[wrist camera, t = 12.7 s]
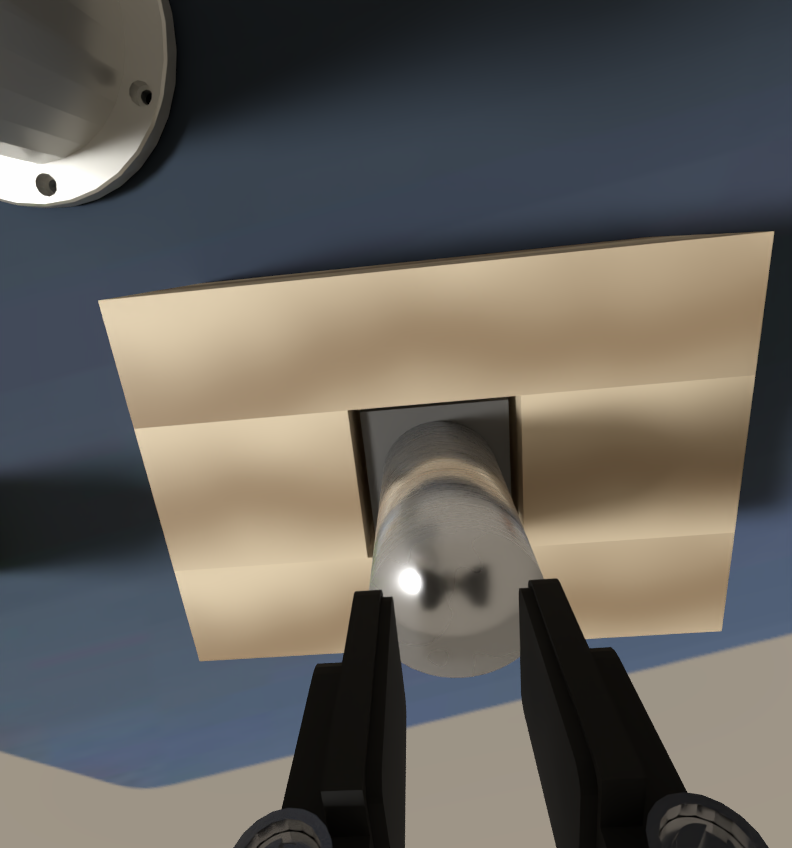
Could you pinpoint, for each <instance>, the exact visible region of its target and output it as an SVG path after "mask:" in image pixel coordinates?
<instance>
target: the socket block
mask: <svg viewBox="0 0 792 848" xmlns="http://www.w3.org/2000/svg"><path fill="white" fill-rule="evenodd" d="M773 237H774V231H769V232H747V233H725V234H704V235H682V236H660V237H645V238H635V239H626V240H616V241H606V242H597V243H587V244H577V245H568V246H558V247H548V248H539V249H529V250H519V251H510V252H500V253H490V254H481V255H471V256H461V257H452V258H442V259H432V260H423V261H413V262H403V263H394V264H384V265H374V266H365V267H355V268H345V269H336V270H326V271H316V272H307V273H297V274H287V275H278V276H268V277H258V278H249V279H239V280H229V281H220V282H210V283H200V284H194V285H188V286H183V287H177V288H171V289H165V290H159V291H153V292H147V293H141V294H135V295H129V296H123V297H117V298H111V299H105V300H99V301H98V302H99V306H100V309H101V313H102V316H103V320H104V323H105V327H106V330H107V334H108V337H109V341H110V345H111V348H112V352H113V355H114V359H115V362H116V366H117V369H118V373H119V377H120V380H121V384H122V387H123V391H124V394H125V398H126V401H127V405H128V408H129V412H130V416H131V419H132V423H133V426H134V430H135V433H136V437H137V440H138V444H139V447H140V451H141V455H142V458H143V462H144V465H145V469H146V472H147V476H148V479H149V483H150V486H151V490H152V494H153V497H154V501H155V504H156V508H157V511H158V515H159V518H160V522H161V525H162V529H163V533H164V536H165V540H166V543H167V547H168V550H169V554H170V557H171V561H172V564H173V568H174V572H175V575H176V579H177V582H178V586H179V589H180V593H181V596H182V600H183V604H184V607H185V611H186V614H187V618H188V621H189V625H190V628H191V632H192V635H193V639H194V643H195V646H196V650H197V653H198V657H199V660H200V661H210V660H228V659H245V658H262V657H280V656H297V655H314V654H332V653H344V649H345V643H346V637H347V631H348V625H349V619H350V613H351V607H352V601H353V596H354V592H355V591H367V590H369V584H370V576H371V568H372V560H373V551H374V543H375V528H374V520H373V513H372V505H371V497H370V489H369V482H368V474H367V466H366V458H365V450H364V443H363V435H362V427H361V419H360V410H361V409H370V408H381V407H393V406H404V405H416V404H428V403H439V402H451V401H462V400H474V399H485V398H497V397H507V398H508V405H509V439H510V473H511V498H512V501H513V503H514V506H515V508H516V510H517V513H518V515H519V518H520V520H521V523H522V525H523V528H524V530H525V533H526V535H527V538H528V540H529V543H530V545H531V548H532V550H533V553H534V555H535V558H536V560H537V563H538V565H539V568H540V570H541V573H542V575H543V578H544V579H552V578H557V579H558V580H559V581H560V583H561V586H562V588H563V590H564V592H565V595H566V597H567V599H568V601H569V604H570V606H571V608H572V610H573V613H574V615H575V617H576V620H577V622H578V624H579V626H580V629H581V631H582V633H583V635H584V638H585V639H592V638H609V637H627V636H644V635H661V634H679V633H696V632H713V631H722V623H723V616H724V608H725V601H726V593H727V586H728V578H729V570H730V563H731V555H732V548H733V540H734V533H735V525H736V517H737V510H738V502H739V495H740V487H741V480H742V472H743V464H744V457H745V449H746V442H747V434H748V427H749V419H750V411H751V404H752V396H753V389H754V381H755V374H756V366H757V358H758V351H759V343H760V336H761V328H762V321H763V313H764V305H765V298H766V290H767V283H768V275H769V267H770V260H771V252H772V245H773Z"/></svg>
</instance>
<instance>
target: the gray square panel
mask: <svg viewBox="0 0 792 848" xmlns="http://www.w3.org/2000/svg"><path fill="white" fill-rule="evenodd" d="M360 419H361V427H362V435H363V443H364V450H365V458H366V466H367V474H368V482H369V489H370V497H371V505H372V513H373V520H374V528H375V535H376V527H377V518H378V510H379V502H380V494H381V486H382V477H383V469H384V463H385V459H386V456H387V454H388V452H389V450H390V448H391V446H392V445H393V444H394V442H395V441H396V440H397V439H398V438H399V437H400V436H401V435H402V434H404V433H405V432H406V431H408V430H409V429H411V428H413V427H415V426H417V425H420V424H423V423H426V422H432V421H451V422H456V423H460V424H462V425H465V426H467V427H469V428H471V429H473V430H474V431H476V432H477V433H478V434H480V435H481V436H482V437H483V438H484V439H485V440H486V442H487V443H488V444H489V446H490V448H491V449H492V451H493V454H494V456H495V458H496V461H497V463H498V466H499V468H500V471H501V473H502V476H503V478H504V481H505V483H506V486H507V488H508V491H509V493H510V496H511V473H510V439H509V405H508V398H507V397H497V398H485V399H474V400H462V401H451V402H439V403H428V404H416V405H404V406H393V407H381V408H370V409H361V410H360Z"/></svg>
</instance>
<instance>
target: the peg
mask: <svg viewBox="0 0 792 848" xmlns="http://www.w3.org/2000/svg"><path fill="white" fill-rule="evenodd" d="M537 579H544V578H543V575H542V573H541V570H540V568H539V565H538V563H537V560H536V558H535V555H534V553H533V550H532V548H531V545H530V543H529V540H528V538H527V535H526V533H525V530H524V528H523V525H522V523H521V520H520V518H519V515H518V513H517V510H516V508H515V506H514V503H513V501H512V498H511V496H510V493H509V491H508V488H507V486H506V483H505V481H504V478H503V476H502V473H501V471H500V468H499V466H498V463H497V461H496V458H495V456H494V454H493V451H492V449H491V448H490V446H489V444H488V443H487V442H486V440H485V439H484V438H483V437H482V436H481V435H480V434H478V433H477V432H476V431H474V430H473V429H471V428H469V427H467V426H465V425H462V424H460V423H456V422H451V421H432V422H426V423H423V424H420V425H417V426H415V427H413V428H411V429H409V430H408V431H406V432H405V433H404V434H402V435H401V436H400V437H399V438H398V439H397V440H396V441H395V442H394V444H393V445H392V446H391V448H390V450H389V452H388V454H387V456H386V459H385V463H384V469H383V477H382V486H381V494H380V502H379V510H378V518H377V527H376V535H375V543H374V551H373V560H372V568H371V576H370V584H369V590H382V592H383V597H391V596H392V597H393V601H394V609H395V617H396V626H397V634H398V642H399V650H400V659H401V662H402V663H404V664H405V665H407V666H409V667H411V668H413V669H415V670H418V671H420V672H424V673H427V674H430V675H435V676H440V677H450V678H463V677H473V676H478V675H482V674H486V673H489V672H492V671H495V670H498V669H500V668H502V667H504V666H506V665H508V664H510V663H511V662H513V661H515V660H516V659H517V658H518V657H520V629H519V588H528V581H529V580H537Z"/></svg>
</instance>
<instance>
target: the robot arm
mask: <svg viewBox="0 0 792 848" xmlns="http://www.w3.org/2000/svg"><path fill="white" fill-rule="evenodd" d="M176 55H177V49H176V40H175V32H174V24H173V16H172V11H171V7H170V4H169V0H0V201H3V202H7V203H11V204H15V205H20V206H30V207H40V208H57V207H73V206H76V205H80V204H83V203H87V202H90V201H94V200H97V199H99V198H101V197H103V196H105V195H106V194H108V193H110V192H112V191H113V190H115V189H117V188H119V187H121V186H122V185H123V184H124V183H125V182H126V181H127V180H128V179H129V178H130V177H132V176H133V175H134V174H135V173H136V172H137V171H138V170H139V169H140V168H141V167H142V165H143V164H144V162H145V161H146V160H147V158H148V157H149V155H150V154H151V152H152V151H153V149H154V148H155V147H156V145H157V143H158V141H159V138H160V136H161V133H162V131H163V129H164V126H165V124H166V122H167V119H168V117H169V112H170V108H171V103H172V98H173V94H174V89H175V81H176ZM150 93H152V99H151V101H150V103H149V105H148V104H147V102H146V97H147V96H148V94H150ZM56 183H57V189H56ZM519 629H520V668H521V696H522V704H523V710H524V715H525V719H526V723H527V727H528V731H529V736H530V740H531V744H532V748H533V752H534V756H535V760H536V765H537V769H538V773H539V777H540V781H541V785H542V789H543V793H544V798H545V802H546V806H547V810H548V814H549V818H550V823H551V827H552V831H553V835H554V839H555V843H556V847H557V848H768V846H767V845H766V843H765V842H764V840H763V839H762V837H761V836H760V835H759V833H758V832H757V831H756V830H755V829H754V828H753V827H752V826H751V825H750V824H749V823H748V822H747V821H746V820H745V819H744V818H743V817H741V816H740V815H739V814H737V813H736V812H734V811H733V810H732V809H730V808H729V807H727V806H725V805H724V804H722V803H720V802H718V801H715V800H713V799H711V798H708V797H706V796H703V795H699V794H692V793H687V791H686V789H685V787H684V785H683V783H682V781H681V779H680V777H679V775H678V773H677V771H676V769H675V767H674V765H673V763H672V761H671V759H670V758H669V755H668V753H667V751H666V749H665V747H664V745H663V744H662V742H661V740H660V738H659V736H658V734H657V732H656V730H655V728H654V726H653V724H652V722H651V720H650V718H649V716H648V714H647V712H646V710H645V708H644V706H643V704H642V702H641V700H640V698H639V696H638V694H637V692H636V690H635V688H634V686H633V684H632V682H631V680H630V678H629V676H628V674H627V672H626V670H625V668H624V666H623V664H622V662H621V660H620V658H619V657H618V655H617V653H616V652H615V650H614V649H612V648H611V647H607V648H589V647H588V644H587V642H586V640H585V638H584V635H583V633H582V631H581V629H580V626H579V624H578V622H577V620H576V617H575V615H574V613H573V610H572V608H571V606H570V604H569V601H568V599H567V597H566V595H565V592H564V590H563V588H562V586H561V583H560V581H559V580H558V579H557V578H552V579H537V580H529V581H528V588H519ZM405 782H406V701H405V692H404V683H403V675H402V667H401V659H400V650H399V642H398V634H397V626H396V617H395V609H394V601H393V597H392V596H391V597H383V592H382V590H367V591H355V592H354V596H353V601H352V607H351V613H350V619H349V625H348V631H347V637H346V643H345V649H344V655H343V661H342V663H324V664H317V665H316V667H315V669H314V672H313V676H312V680H311V685H310V689H309V693H308V698H307V702H306V706H305V710H304V715H303V719H302V723H301V728H300V732H299V736H298V741H297V745H296V749H295V754H294V758H293V762H292V767H291V771H290V775H289V779H288V784H287V788H286V792H285V797H284V801H283V805H282V810H278V811H274V812H271V813H269V814H268V815H266V816H264V817H263V818H261V819H259V820H257V821H256V822H255V823H254V824H253V825H252V826H251V827H250V828H249V829H248V830H246V831H245V832H244V834H243V835H242V836H241V838H240V839H239V840H238V842H237V844H236V845H235V847H234V848H405V786H406V784H405Z"/></svg>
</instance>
